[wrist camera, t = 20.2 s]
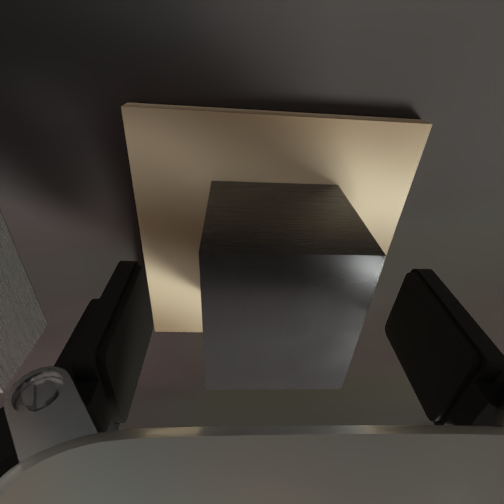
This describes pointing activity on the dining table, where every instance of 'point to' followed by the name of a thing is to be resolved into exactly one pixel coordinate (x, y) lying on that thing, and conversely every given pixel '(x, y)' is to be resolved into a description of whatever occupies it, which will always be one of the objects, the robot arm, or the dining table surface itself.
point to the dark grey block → (283, 285)
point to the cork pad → (252, 179)
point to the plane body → (15, 310)
